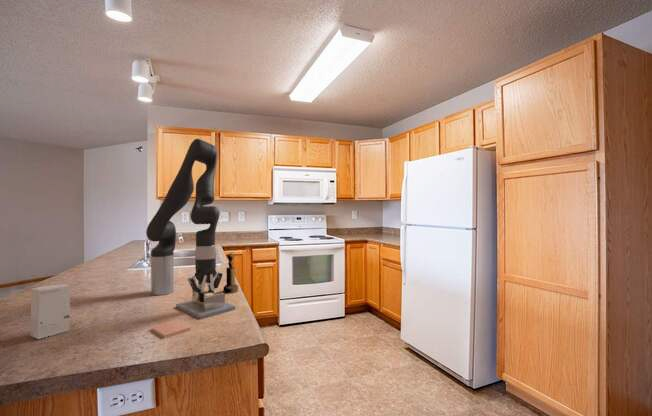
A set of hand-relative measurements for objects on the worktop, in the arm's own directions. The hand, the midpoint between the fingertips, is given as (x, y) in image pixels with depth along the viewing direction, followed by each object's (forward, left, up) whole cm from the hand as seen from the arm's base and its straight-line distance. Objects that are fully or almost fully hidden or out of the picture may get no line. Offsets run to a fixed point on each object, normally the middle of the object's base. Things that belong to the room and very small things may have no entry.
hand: (206, 300), depth 122 cm
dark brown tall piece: (-14, +20, -3) cm, 24 cm away
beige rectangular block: (0, 0, -1) cm, 1 cm away
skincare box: (-14, -44, -3) cm, 47 cm away
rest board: (0, 0, -3) cm, 3 cm away
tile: (+7, -18, -3) cm, 20 cm away
